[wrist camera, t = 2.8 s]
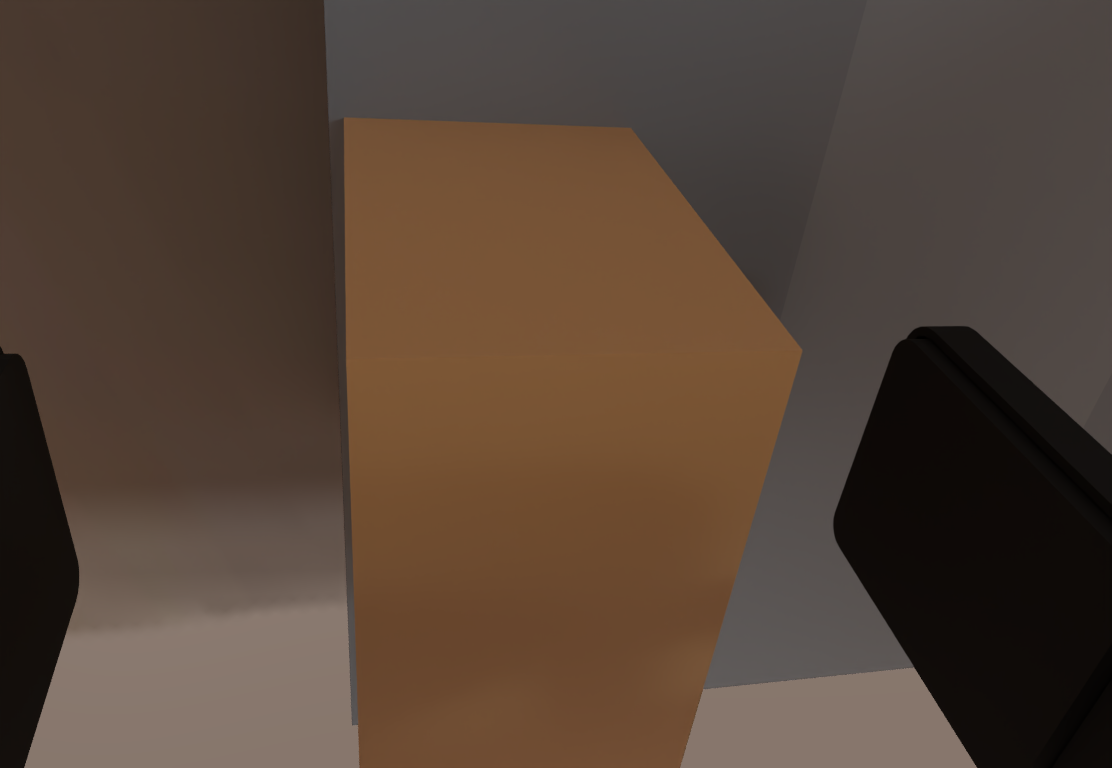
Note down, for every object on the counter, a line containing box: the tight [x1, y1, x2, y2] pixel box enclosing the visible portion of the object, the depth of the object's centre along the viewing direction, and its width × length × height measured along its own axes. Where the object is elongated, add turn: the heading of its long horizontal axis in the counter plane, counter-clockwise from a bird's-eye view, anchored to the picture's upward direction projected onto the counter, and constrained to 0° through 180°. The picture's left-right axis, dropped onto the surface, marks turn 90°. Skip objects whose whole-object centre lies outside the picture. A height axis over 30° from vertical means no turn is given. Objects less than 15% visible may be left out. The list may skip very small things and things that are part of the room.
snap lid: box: [324, 0, 1112, 768], centre depth 11 cm, size 16×14×6 cm
